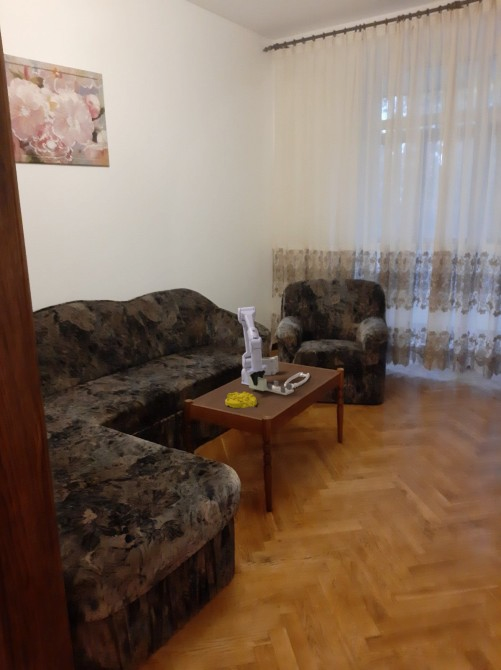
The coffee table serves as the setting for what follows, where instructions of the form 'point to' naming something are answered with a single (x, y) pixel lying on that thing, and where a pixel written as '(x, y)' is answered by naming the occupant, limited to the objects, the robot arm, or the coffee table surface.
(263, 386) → the long rectangular block
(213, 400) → the coffee table surface
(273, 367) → the hinge
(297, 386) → the door handle
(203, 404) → the coffee table surface
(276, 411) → the coffee table surface
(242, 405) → the yellow textured disc
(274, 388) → the plate with corner feet
